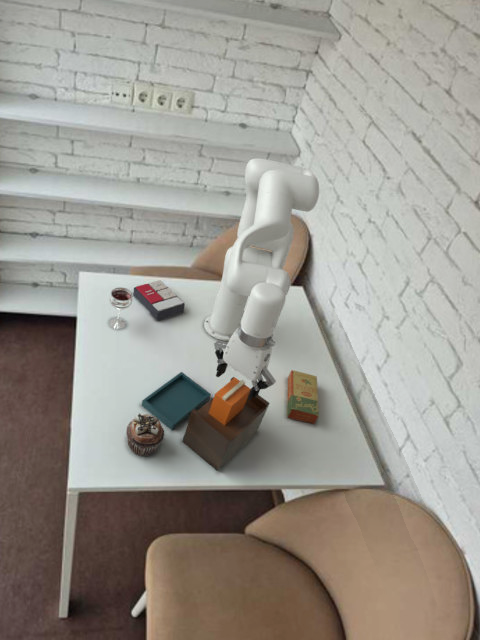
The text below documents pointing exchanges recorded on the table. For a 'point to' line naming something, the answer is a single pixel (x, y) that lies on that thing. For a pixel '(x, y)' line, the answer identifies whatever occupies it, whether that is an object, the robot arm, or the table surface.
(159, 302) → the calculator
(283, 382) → the table surface
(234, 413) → the packet
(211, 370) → the table surface
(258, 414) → the shelf
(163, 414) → the tray
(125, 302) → the wineglass
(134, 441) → the cupcake
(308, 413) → the carton
